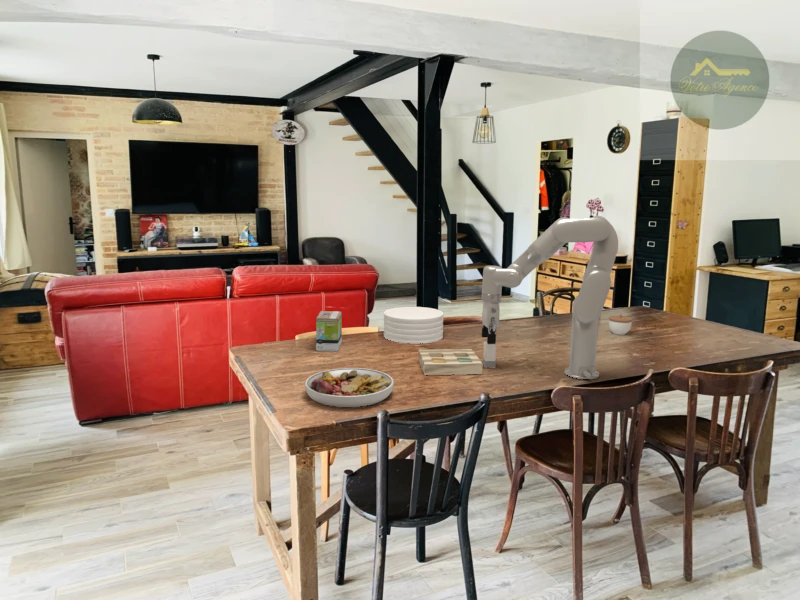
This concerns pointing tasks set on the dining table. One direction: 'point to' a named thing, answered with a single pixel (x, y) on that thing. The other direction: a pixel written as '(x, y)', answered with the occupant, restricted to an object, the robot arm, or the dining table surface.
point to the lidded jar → (620, 324)
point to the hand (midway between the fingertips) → (488, 340)
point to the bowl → (349, 387)
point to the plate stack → (413, 325)
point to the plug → (489, 355)
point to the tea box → (328, 331)
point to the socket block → (449, 362)
